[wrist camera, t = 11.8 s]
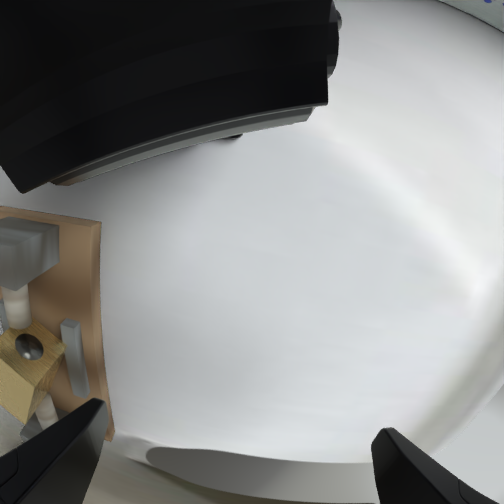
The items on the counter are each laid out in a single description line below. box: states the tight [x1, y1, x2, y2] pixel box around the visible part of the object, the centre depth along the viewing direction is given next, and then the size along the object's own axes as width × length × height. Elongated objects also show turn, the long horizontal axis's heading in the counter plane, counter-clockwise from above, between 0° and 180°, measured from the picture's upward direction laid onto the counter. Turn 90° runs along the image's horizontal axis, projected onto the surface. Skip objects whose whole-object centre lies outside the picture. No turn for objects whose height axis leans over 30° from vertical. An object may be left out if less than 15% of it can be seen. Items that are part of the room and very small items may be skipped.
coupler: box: [0, 317, 67, 425], centre depth 16 cm, size 6×4×5 cm, turn 143°
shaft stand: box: [0, 206, 115, 442], centre depth 17 cm, size 21×10×6 cm, turn 170°
